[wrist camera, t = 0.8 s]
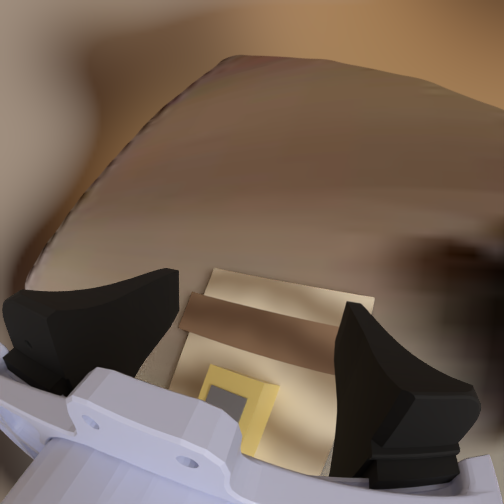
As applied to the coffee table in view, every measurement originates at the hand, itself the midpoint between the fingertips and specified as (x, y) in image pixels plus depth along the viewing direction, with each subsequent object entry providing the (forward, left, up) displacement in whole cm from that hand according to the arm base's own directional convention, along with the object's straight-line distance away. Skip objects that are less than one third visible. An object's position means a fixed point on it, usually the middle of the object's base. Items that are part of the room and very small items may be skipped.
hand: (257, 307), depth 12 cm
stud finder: (-7, +4, -13) cm, 16 cm away
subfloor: (-3, +4, -14) cm, 15 cm away
